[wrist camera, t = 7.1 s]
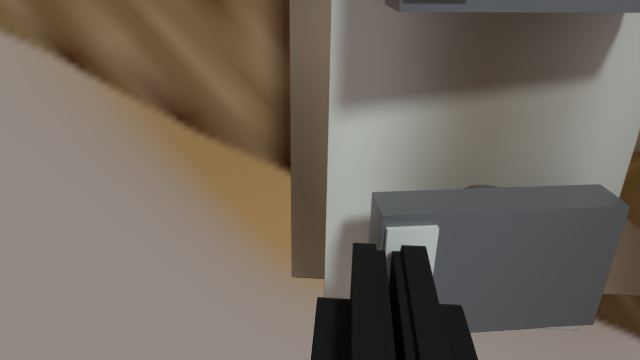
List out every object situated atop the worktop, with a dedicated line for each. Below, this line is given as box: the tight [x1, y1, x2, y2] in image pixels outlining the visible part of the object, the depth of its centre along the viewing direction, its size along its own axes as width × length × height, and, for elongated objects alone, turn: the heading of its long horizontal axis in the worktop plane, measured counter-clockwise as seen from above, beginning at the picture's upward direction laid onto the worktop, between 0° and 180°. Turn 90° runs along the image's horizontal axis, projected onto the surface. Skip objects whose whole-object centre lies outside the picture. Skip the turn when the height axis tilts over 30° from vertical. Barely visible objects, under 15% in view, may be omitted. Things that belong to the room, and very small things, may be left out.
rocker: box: [369, 184, 630, 333], centre depth 13 cm, size 6×4×2 cm, turn 89°
